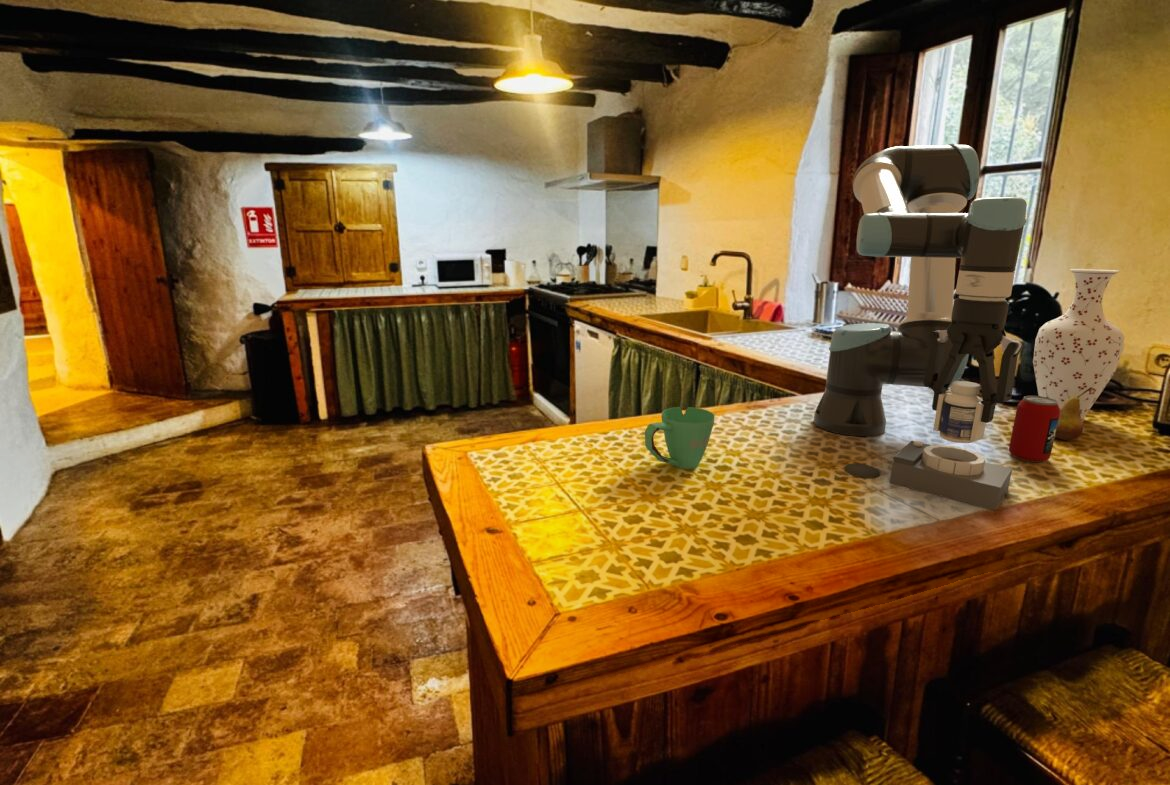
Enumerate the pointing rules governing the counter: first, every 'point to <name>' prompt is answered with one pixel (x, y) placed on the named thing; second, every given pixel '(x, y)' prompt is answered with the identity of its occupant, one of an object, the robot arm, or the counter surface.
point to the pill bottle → (959, 412)
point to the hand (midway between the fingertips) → (957, 434)
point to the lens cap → (862, 470)
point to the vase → (1079, 345)
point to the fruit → (1070, 420)
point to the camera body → (951, 474)
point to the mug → (682, 436)
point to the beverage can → (1034, 428)
